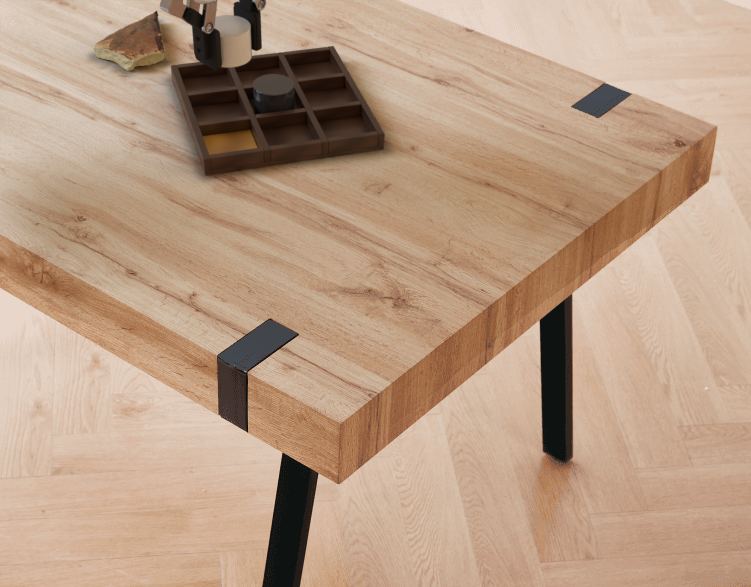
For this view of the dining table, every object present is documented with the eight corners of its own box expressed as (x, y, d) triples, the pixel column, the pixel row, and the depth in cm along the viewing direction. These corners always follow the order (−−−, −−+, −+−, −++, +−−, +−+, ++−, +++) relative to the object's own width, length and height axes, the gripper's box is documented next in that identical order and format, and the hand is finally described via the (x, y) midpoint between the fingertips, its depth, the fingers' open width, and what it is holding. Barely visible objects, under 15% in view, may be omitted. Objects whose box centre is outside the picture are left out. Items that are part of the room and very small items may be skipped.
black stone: (259, 123, 115) (258, 97, 113) (249, 102, 118) (248, 76, 116) (298, 118, 116) (298, 92, 114) (288, 97, 119) (288, 71, 117)
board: (205, 175, 108) (203, 159, 107) (171, 80, 122) (170, 65, 120) (383, 149, 113) (384, 133, 112) (333, 61, 127) (333, 45, 125)
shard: (157, 21, 132) (156, 8, 131) (204, 41, 129) (203, 27, 127) (92, 55, 125) (90, 41, 124) (140, 77, 122) (138, 63, 121)
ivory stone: (211, 70, 102) (208, 39, 99) (202, 47, 105) (199, 17, 103) (256, 64, 103) (255, 34, 101) (246, 42, 106) (245, 12, 104)
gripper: (259, -172, 98) (265, 13, 110) (109, -125, 88) (134, 71, 101) (318, -149, 94) (318, 38, 107) (168, -98, 85) (186, 102, 97)
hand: (228, 52), depth 103 cm, fingers closed on ivory stone, 4 cm apart
